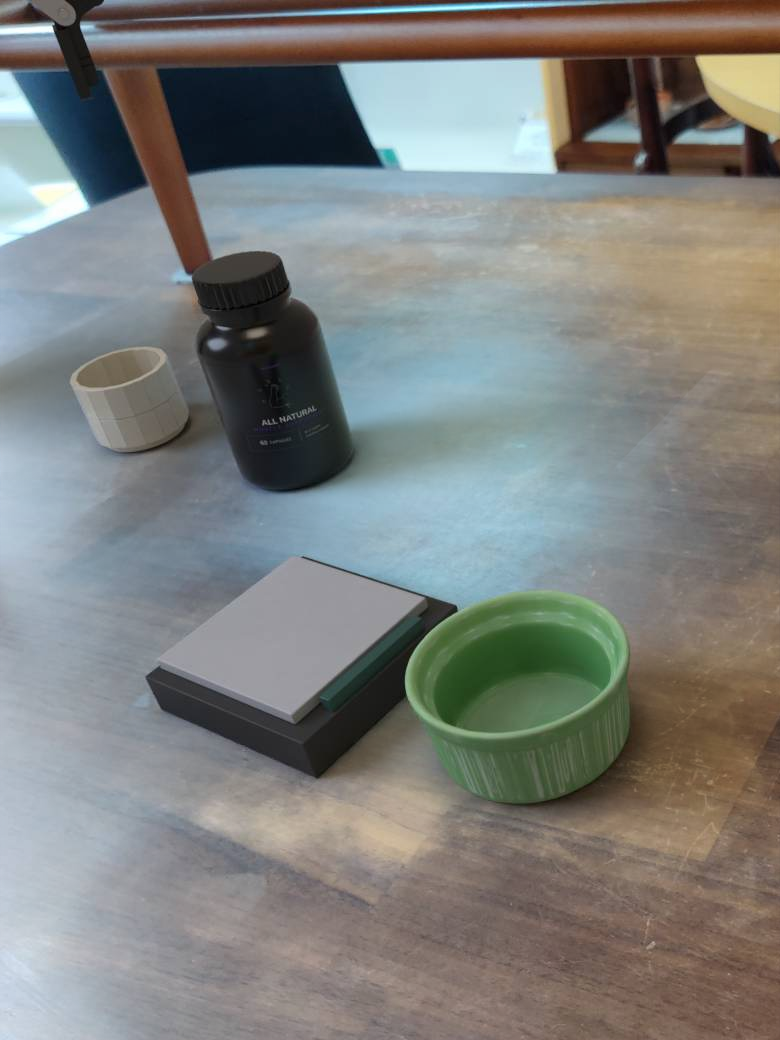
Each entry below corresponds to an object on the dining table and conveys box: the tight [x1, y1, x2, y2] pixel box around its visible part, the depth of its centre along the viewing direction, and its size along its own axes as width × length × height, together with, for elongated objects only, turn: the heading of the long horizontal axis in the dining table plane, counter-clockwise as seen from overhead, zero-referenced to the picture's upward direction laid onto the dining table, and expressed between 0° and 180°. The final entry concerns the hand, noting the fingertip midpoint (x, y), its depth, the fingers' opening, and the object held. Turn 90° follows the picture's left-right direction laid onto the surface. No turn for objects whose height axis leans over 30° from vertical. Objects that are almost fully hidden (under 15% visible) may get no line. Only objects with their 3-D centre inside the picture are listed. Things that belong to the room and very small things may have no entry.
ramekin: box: [405, 589, 631, 805], centre depth 49 cm, size 9×9×4 cm
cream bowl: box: [69, 346, 190, 453], centre depth 75 cm, size 6×6×4 cm
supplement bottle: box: [191, 250, 354, 491], centre depth 67 cm, size 7×7×12 cm
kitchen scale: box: [144, 555, 459, 778], centre depth 54 cm, size 10×10×3 cm
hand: (9, 114), depth 68 cm, fingers open, 8 cm apart
